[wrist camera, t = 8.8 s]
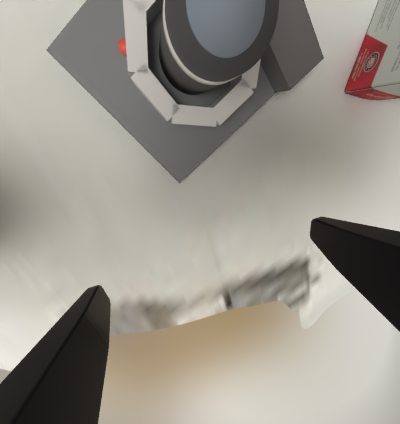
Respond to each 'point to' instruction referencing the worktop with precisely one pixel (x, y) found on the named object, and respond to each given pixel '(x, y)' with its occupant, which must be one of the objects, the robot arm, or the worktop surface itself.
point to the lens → (213, 40)
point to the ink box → (379, 56)
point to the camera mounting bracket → (159, 85)
